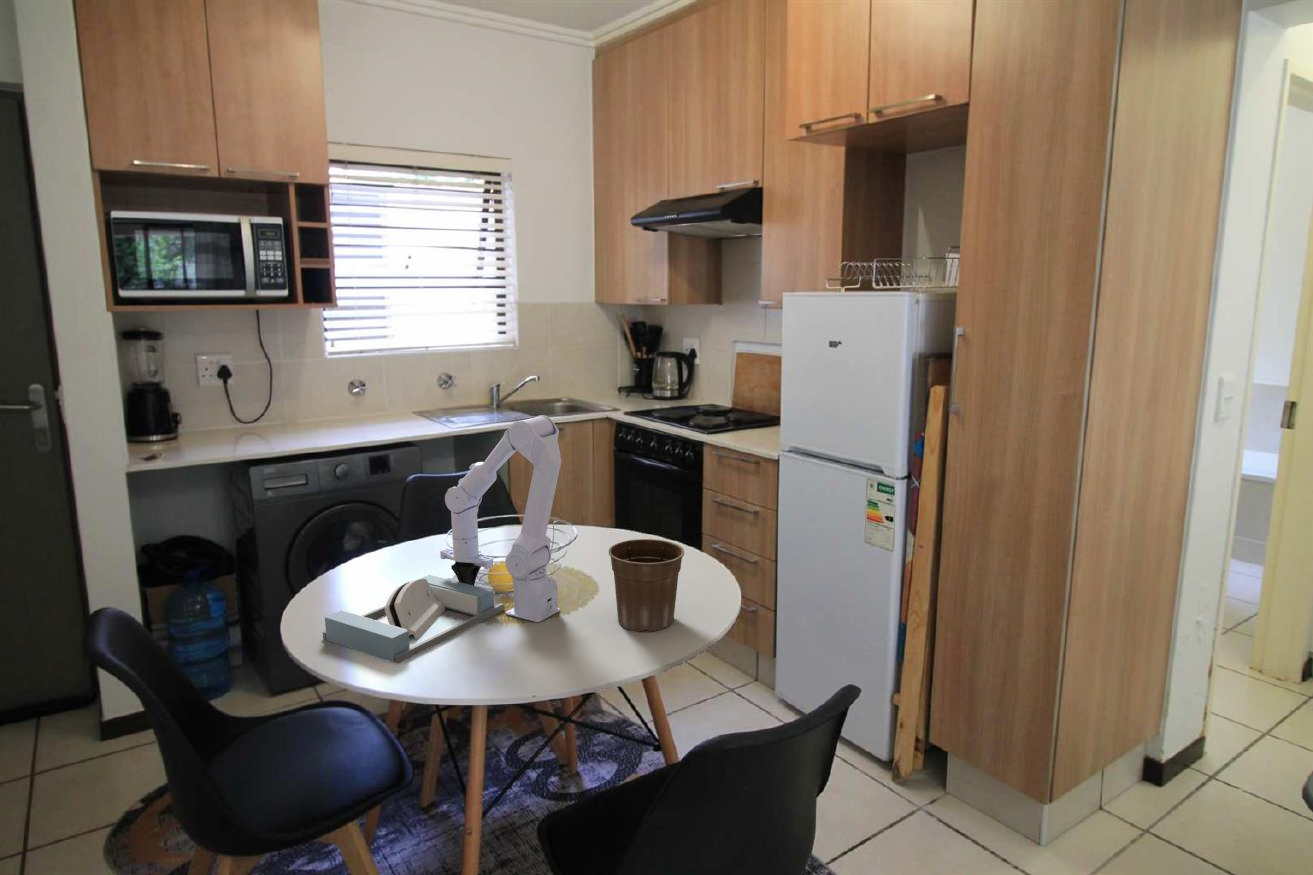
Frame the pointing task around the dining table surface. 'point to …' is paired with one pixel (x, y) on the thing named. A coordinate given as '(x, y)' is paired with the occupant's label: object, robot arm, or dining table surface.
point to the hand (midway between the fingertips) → (467, 592)
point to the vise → (387, 633)
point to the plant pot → (646, 582)
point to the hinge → (413, 607)
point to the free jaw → (461, 595)
